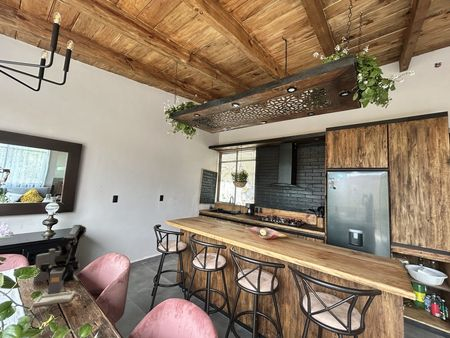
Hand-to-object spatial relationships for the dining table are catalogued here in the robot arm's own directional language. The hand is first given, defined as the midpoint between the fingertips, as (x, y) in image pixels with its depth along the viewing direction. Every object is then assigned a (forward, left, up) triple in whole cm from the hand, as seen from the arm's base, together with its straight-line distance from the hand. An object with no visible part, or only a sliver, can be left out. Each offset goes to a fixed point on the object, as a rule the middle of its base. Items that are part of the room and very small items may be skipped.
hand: (55, 281), depth 117 cm
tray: (-1, +1, -11) cm, 11 cm away
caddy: (-1, +1, -7) cm, 7 cm away
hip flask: (-35, +3, -11) cm, 37 cm away
